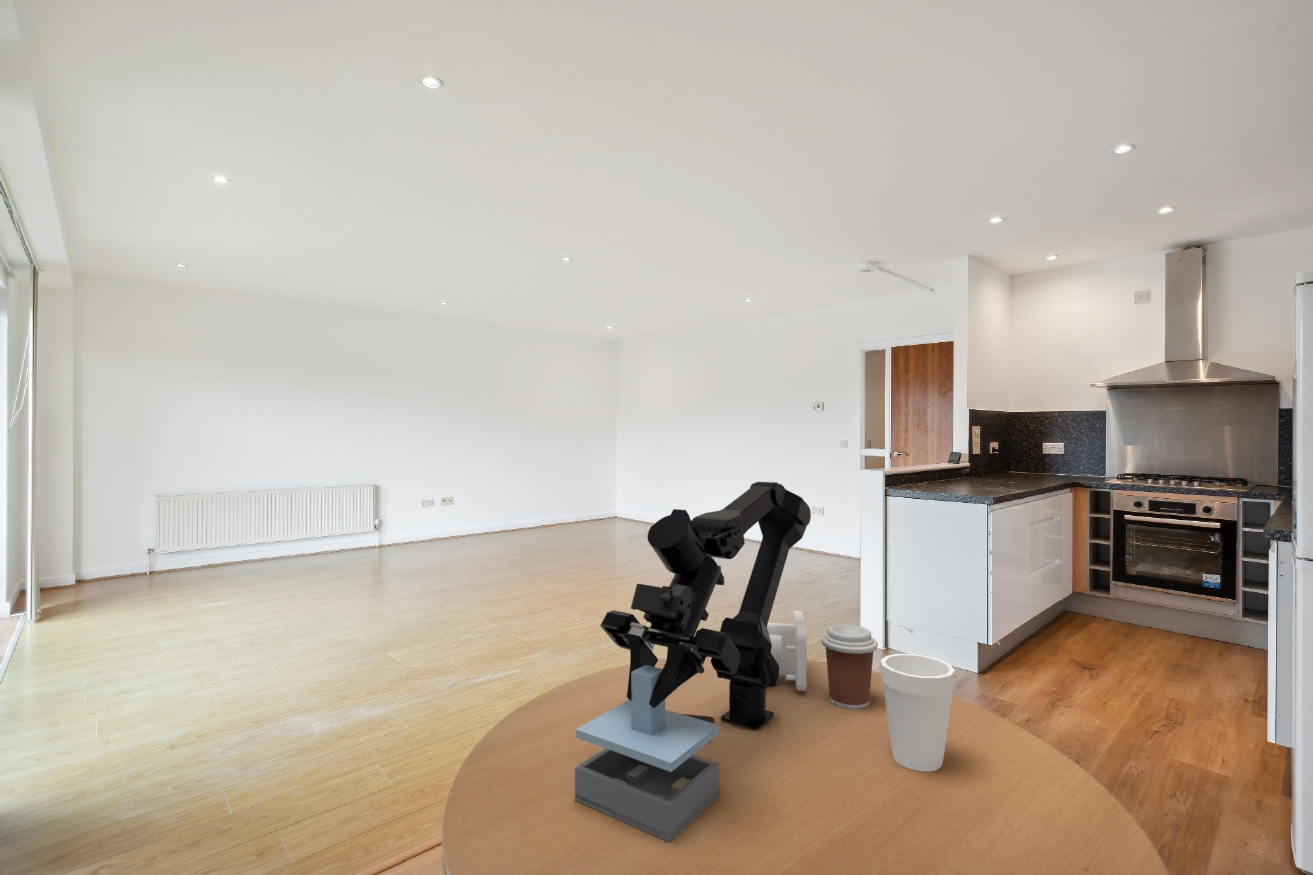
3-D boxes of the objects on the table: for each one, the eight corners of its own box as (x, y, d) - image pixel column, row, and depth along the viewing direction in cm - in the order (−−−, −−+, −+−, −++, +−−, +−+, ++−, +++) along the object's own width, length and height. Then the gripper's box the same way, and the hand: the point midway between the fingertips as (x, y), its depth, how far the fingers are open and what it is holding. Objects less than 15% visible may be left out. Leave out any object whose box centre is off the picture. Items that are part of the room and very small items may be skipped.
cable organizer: (807, 699, 106) (807, 631, 106) (745, 695, 108) (744, 628, 108) (802, 668, 121) (802, 608, 121) (747, 665, 123) (747, 606, 123)
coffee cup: (876, 693, 109) (875, 624, 109) (879, 715, 100) (879, 640, 100) (822, 687, 111) (821, 620, 111) (821, 708, 103) (820, 635, 103)
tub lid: (630, 706, 86) (630, 647, 86) (719, 733, 78) (719, 669, 78) (576, 737, 77) (576, 672, 77) (671, 771, 69) (671, 699, 69)
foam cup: (954, 751, 88) (954, 659, 88) (955, 784, 80) (955, 682, 80) (883, 738, 92) (883, 650, 92) (877, 767, 84) (877, 671, 84)
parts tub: (629, 762, 85) (629, 733, 85) (719, 795, 77) (719, 763, 77) (575, 800, 76) (575, 767, 76) (669, 842, 68) (669, 805, 68)
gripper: (609, 551, 86) (551, 654, 77) (728, 566, 75) (678, 688, 66) (643, 596, 92) (594, 696, 83) (758, 617, 81) (716, 734, 72)
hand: (640, 702), depth 76 cm, fingers closed on tub lid, 3 cm apart
